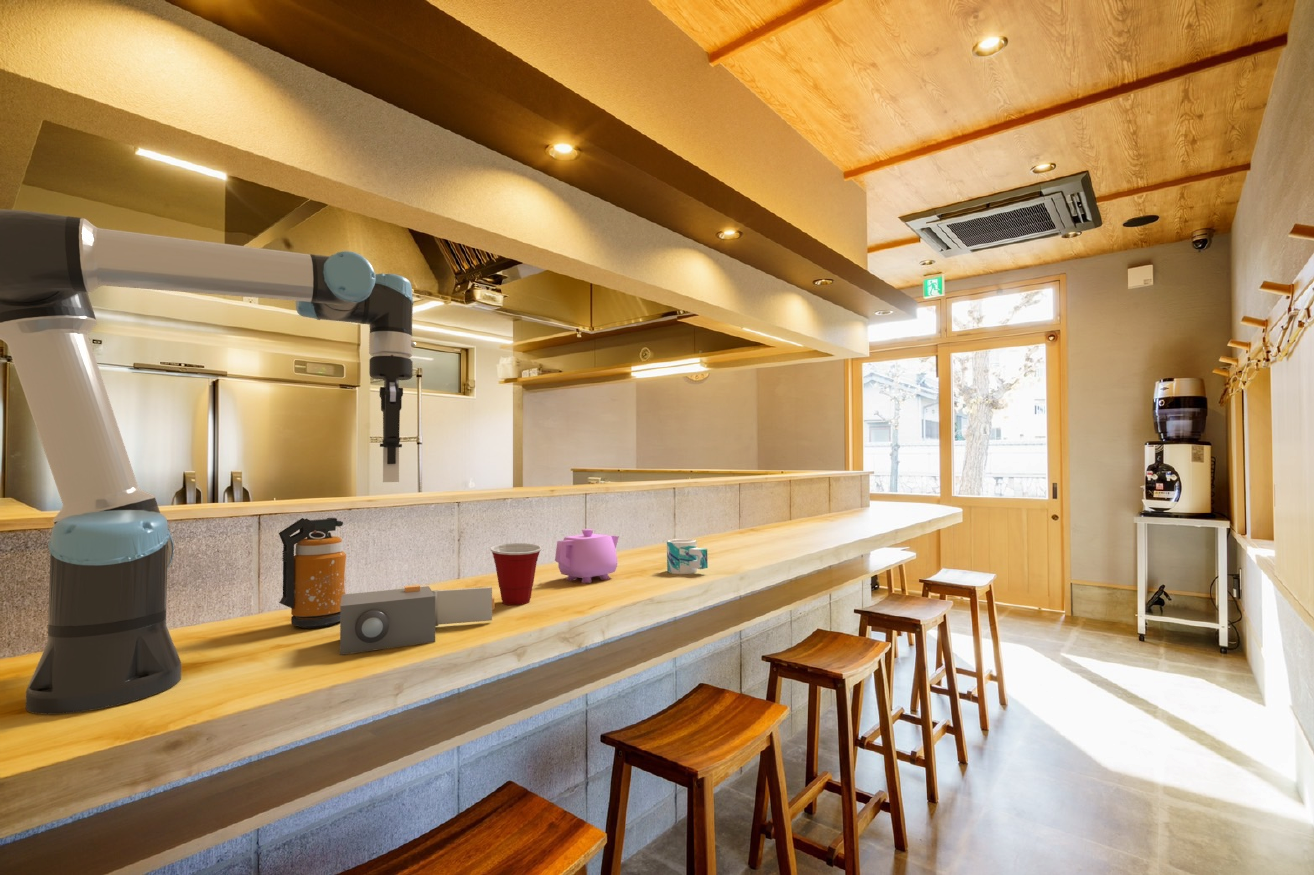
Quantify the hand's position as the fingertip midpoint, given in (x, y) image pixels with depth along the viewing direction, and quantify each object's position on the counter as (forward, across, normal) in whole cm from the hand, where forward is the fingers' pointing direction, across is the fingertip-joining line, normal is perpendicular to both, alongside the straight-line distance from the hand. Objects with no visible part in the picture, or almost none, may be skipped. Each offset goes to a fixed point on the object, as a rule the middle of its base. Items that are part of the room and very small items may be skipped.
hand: (390, 481), depth 115 cm
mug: (+27, +19, -74) cm, 81 cm away
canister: (+27, +7, +13) cm, 30 cm away
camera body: (+26, -12, +1) cm, 29 cm away
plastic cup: (+27, +6, -25) cm, 37 cm away
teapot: (+27, +24, -48) cm, 60 cm away
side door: (+26, -8, -12) cm, 30 cm away
